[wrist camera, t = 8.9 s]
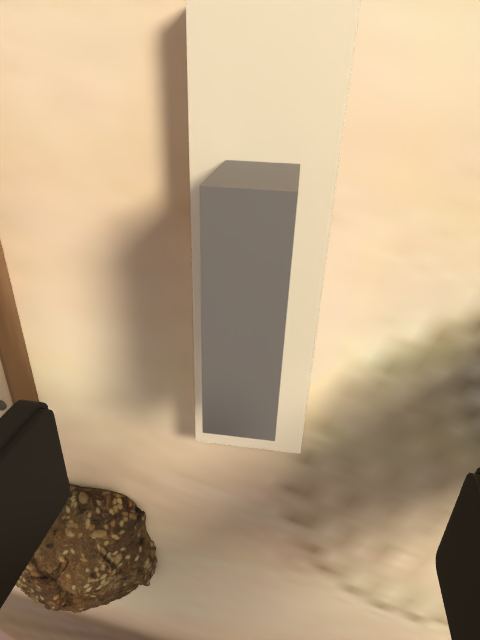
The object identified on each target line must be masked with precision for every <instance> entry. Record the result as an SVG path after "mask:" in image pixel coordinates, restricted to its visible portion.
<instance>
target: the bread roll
mask: <svg viewBox="0 0 480 640" xmlns="http://www.w3.org/2000/svg"><path fill="white" fill-rule="evenodd" d="M69 486H70V494H69V498H68V500H67V502H66V504H65V506H64V507H63V509H62V511H61V512H60V514H59V515H58V517H57V519H56V520H55V522H54V524H53V525H52V527H51V528H50V530H49V532H48V533H47V535H46V536H45V538H44V540H43V541H42V543H41V544H40V546H39V548H38V549H37V551H36V552H35V554H34V556H33V557H32V559H31V560H30V562H29V564H28V565H27V567H26V568H25V570H24V572H23V573H22V575H21V576H20V578H19V580H18V581H17V583H16V585H17V587H19V588H20V587H21V591H23V592H25V594H27V595H28V597H30V598H31V599H33V600H34V601H35V602H36V603H37V602H40V603H41V604H42V606H43V607H45V608H47V609H48V610H49V609H53V610H54V611H58V610H67V611H70V610H71V611H72V612H74V613H75V612H81V611H85V610H88V609H90V608H94V607H98V606H100V605H106V604H109V603H110V602H112V601H114V600H116V599H120V598H122V597H124V596H126V595H128V594H129V593H130V592H132V591H133V590H135V589H136V588H137V587H138V585H145V586H149V585H150V582H149V581H150V579H151V577H152V575H153V574H154V573H155V569H156V562H157V560H156V557H155V550H156V547H155V546H154V542H153V541H152V540H151V539H150V537H149V535H148V533H147V531H146V527H145V520H146V515H145V512H144V511H141V510H140V509H139V508H138V507H137V506H136V504H135V503H134V502H133V501H132V500H130V499H129V498H128V497H127V496H125V495H122V494H119V493H115V492H111V491H105V490H101V489H92V488H82V487H78V486H74V485H69Z"/></svg>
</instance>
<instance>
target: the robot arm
mask: <svg viewBox="0 0 480 640" xmlns="http://www.w3.org/2000/svg"><path fill="white" fill-rule="evenodd" d="M69 494H70V486H69V481H68V477H67V472H66V468H65V463H64V458H63V454H62V449H61V445H60V440H59V435H58V431H57V426H56V422H55V417H54V413H53V411H52V410H49V409H48V406H47V405H46V404H45V403H43V402H36V401H29V400H23V399H21V400H18V401H17V402H15V403H14V404H13V405H12V406H11V407H10V408H9V409H8V410H7V411H6V412H5V413H4V414H3V415H2V416H1V417H0V608H1V607H2V605H3V604H4V602H5V600H6V599H7V597H8V596H9V594H10V592H11V591H12V589H13V588H14V586H15V584H16V583H17V581H18V580H19V578H20V576H21V575H22V573H23V572H24V570H25V568H26V567H27V565H28V564H29V562H30V560H31V559H32V557H33V556H34V554H35V552H36V551H37V549H38V548H39V546H40V544H41V543H42V541H43V540H44V538H45V536H46V535H47V533H48V532H49V530H50V528H51V527H52V525H53V524H54V522H55V520H56V519H57V517H58V515H59V514H60V512H61V511H62V509H63V507H64V506H65V504H66V502H67V500H68V498H69ZM436 570H437V575H438V580H439V584H440V589H441V593H442V598H443V602H444V607H445V611H446V616H447V620H448V625H449V629H450V634H451V638H452V640H480V468H478V469H477V471H476V472H475V474H474V473H469V474H467V476H466V478H465V481H464V483H463V486H462V489H461V491H460V494H459V496H458V499H457V501H456V504H455V507H454V509H453V512H452V514H451V517H450V519H449V522H448V524H447V527H446V530H445V532H444V535H443V537H442V540H441V542H440V545H439V547H438V550H437V553H436Z"/></svg>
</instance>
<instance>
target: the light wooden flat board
mask: <svg viewBox="0 0 480 640" xmlns="http://www.w3.org/2000/svg"><path fill="white" fill-rule="evenodd" d="M21 399H23V400H29V401H36V402H39V400H38V396H37V392H36V387H35V383H34V379H33V375H32V371H31V367H30V362H29V358H28V354H27V350H26V346H25V341H24V337H23V333H22V329H21V325H20V321H19V316H18V312H17V308H16V304H15V300H14V295H13V291H12V287H11V283H10V279H9V274H8V270H7V266H6V262H5V258H4V254H3V249H2V245H1V241H0V417H1V416H2V415H3V414H4V413H5V412H6V411H7V410H8V409H9V408H10V407H11V406H12V405H13V404H14V403H15V402H17V401H18V400H21Z"/></svg>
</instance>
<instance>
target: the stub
mask: <svg viewBox="0 0 480 640" xmlns="http://www.w3.org/2000/svg"><path fill="white" fill-rule="evenodd" d="M360 2H361V0H186V35H187V79H188V122H189V166H190V210H191V254H192V298H193V341H194V385H195V429H196V441H198V442H207V443H215V444H223V445H232V446H240V447H248V448H256V449H265V450H273V451H281V452H289V453H298V454H300V453H301V446H302V438H303V431H304V423H305V416H306V408H307V401H308V393H309V385H310V378H311V370H312V363H313V355H314V348H315V340H316V333H317V325H318V318H319V310H320V303H321V295H322V288H323V280H324V273H325V265H326V258H327V250H328V243H329V235H330V228H331V220H332V213H333V205H334V198H335V190H336V183H337V175H338V168H339V160H340V153H341V145H342V137H343V130H344V122H345V115H346V107H347V100H348V92H349V85H350V77H351V70H352V62H353V55H354V47H355V40H356V32H357V25H358V17H359V10H360Z"/></svg>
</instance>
